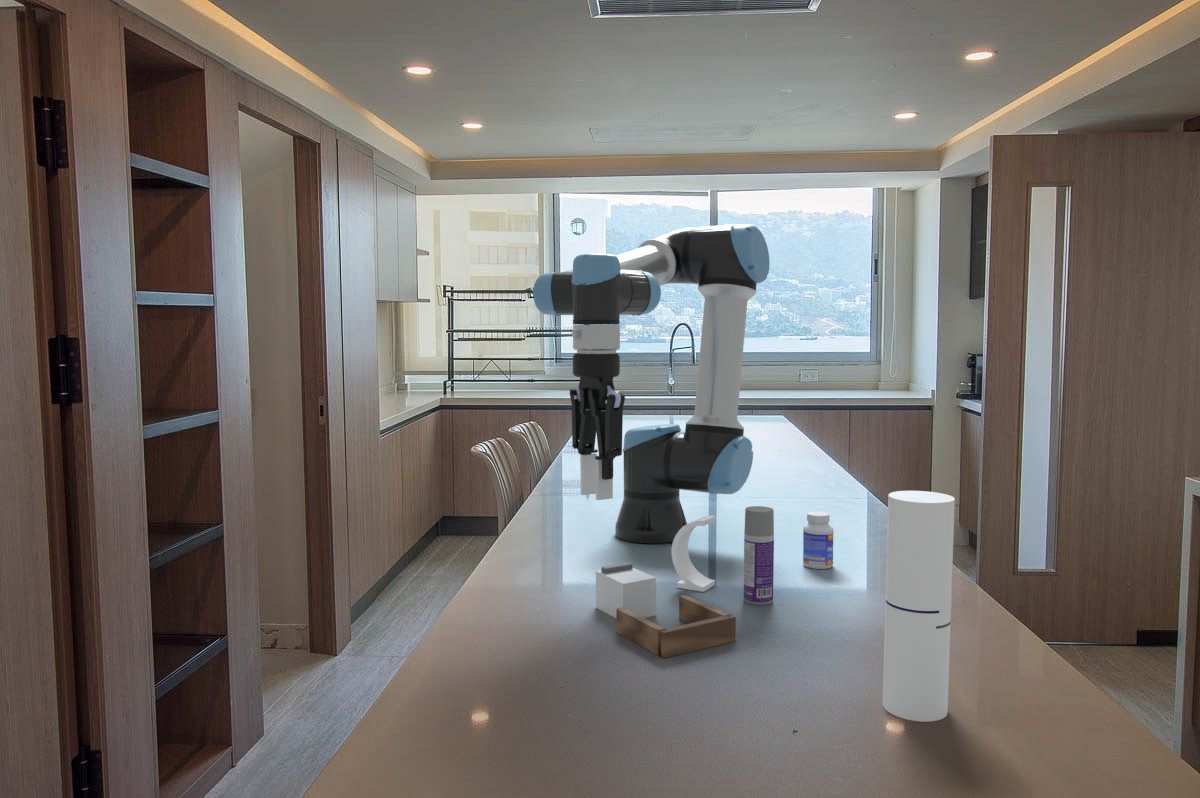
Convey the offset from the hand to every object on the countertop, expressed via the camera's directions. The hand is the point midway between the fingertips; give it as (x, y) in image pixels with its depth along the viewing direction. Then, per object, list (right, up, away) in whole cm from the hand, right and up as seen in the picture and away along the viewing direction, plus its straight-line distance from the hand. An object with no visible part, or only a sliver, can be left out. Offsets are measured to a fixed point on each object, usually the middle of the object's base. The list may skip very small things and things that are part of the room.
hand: (596, 496), depth 145 cm
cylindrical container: (+37, -20, -41) cm, 59 cm away
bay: (+11, -18, -17) cm, 27 cm away
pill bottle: (+41, -15, +19) cm, 47 cm away
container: (+26, -17, -1) cm, 31 cm away
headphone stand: (+16, -16, +7) cm, 24 cm away
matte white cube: (+4, -17, -6) cm, 19 cm away
